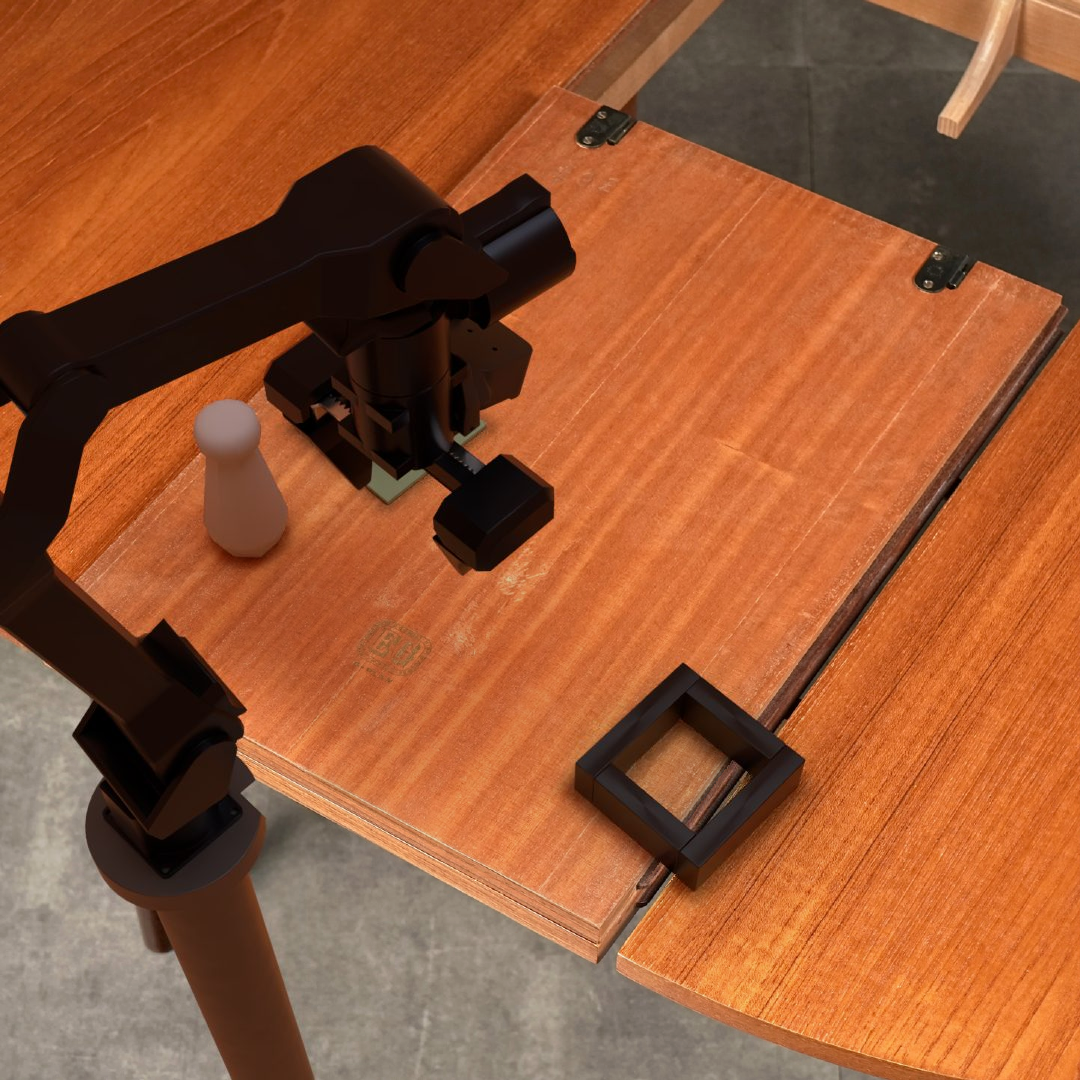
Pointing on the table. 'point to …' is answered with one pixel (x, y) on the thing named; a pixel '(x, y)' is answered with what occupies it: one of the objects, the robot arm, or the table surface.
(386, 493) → the coaster
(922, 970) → the table surface
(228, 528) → the salt shaker
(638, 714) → the frame
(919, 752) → the table surface
